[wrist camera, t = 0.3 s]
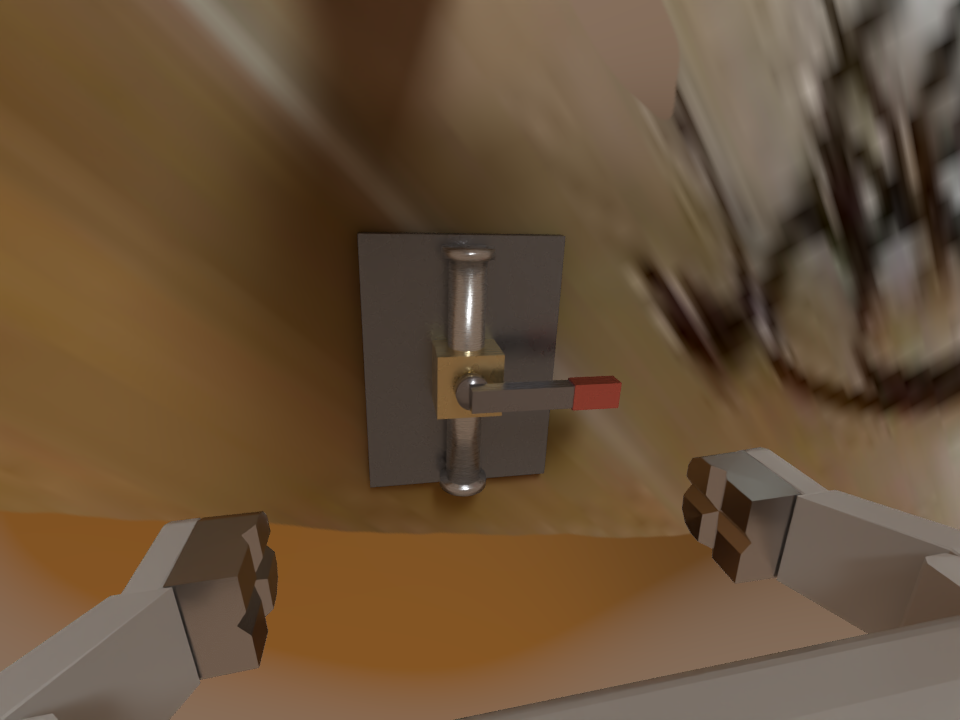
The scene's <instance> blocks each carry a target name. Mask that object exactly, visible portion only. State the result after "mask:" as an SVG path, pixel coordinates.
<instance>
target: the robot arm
mask: <svg viewBox="0 0 960 720" xmlns="http://www.w3.org/2000/svg"><path fill="white" fill-rule="evenodd" d="M687 477H688V479H689V480H690V482H691V484H692V485H691V486H690V487H689V489H688V490H687V491H686V492H685V494H684V496H683V505H682V511H683V515H684V520H685V523H686V525H687V527H688V529H689V531H690V533H691V534H692V535H693V536H694V537H695V539H696V540H697V541H698V542H700V543H702V544H704V545H706V546H708V547H710V548H712V558H713V559H714V560H715V562H716V563H717V564H718V565H719V566H720V567H721V568H722V570H723V571H724V572H725V573H726V574H727V575H728V576H729V577H730V579H731V580H732V581H733V582H734V583H742V582H749V581H755V580H763V579H770V578H777V580H778V581H779V582H781V583H783V584H785V585H786V586H788V587H790V588H791V589H793V590H795V591H796V592H798V593H800V594H801V595H803V596H805V597H807V598H808V599H810V600H812V601H813V602H815V603H817V604H819V605H820V606H822V607H824V608H825V609H827V610H829V611H830V612H832V613H834V614H835V615H837V616H839V617H841V618H842V619H844V620H846V621H848V622H849V623H851V624H852V625H854V626H856V627H858V628H859V629H861V630H863V631H864V632H866V633H868V634H865V635H861V636H856V637H851V638H846V639H842V640H837V641H832V642H827V643H823V644H818V645H812V646H808V647H803V648H798V649H793V650H788V651H783V652H778V653H774V654H769V655H764V656H759V657H754V658H750V659H744V660H740V661H735V662H730V663H725V664H721V665H715V666H711V667H706V668H701V669H696V670H691V671H686V672H682V673H677V674H672V675H667V676H662V677H657V678H652V679H648V680H643V681H639V682H633V683H628V684H624V685H619V686H614V687H609V688H604V689H600V690H595V691H590V692H585V693H580V694H575V695H571V696H566V697H561V698H556V699H551V700H547V701H542V702H537V703H533V704H527V705H523V706H518V707H513V708H508V709H503V710H498V711H494V712H489V713H484V714H480V715H474V716H470V717H465V718H460V719H455V720H960V530H958V529H955V528H952V527H949V526H946V525H943V524H940V523H937V522H934V521H931V520H927V519H924V518H921V517H918V516H915V515H912V514H909V513H906V512H903V511H899V510H896V509H893V508H890V507H887V506H884V505H881V504H878V503H875V502H871V501H868V500H865V499H862V498H859V497H856V496H853V495H850V494H847V493H844V492H840V491H837V490H832V491H828V490H827V489H825V488H824V487H822V486H821V485H819V484H818V483H817V482H815V481H814V480H812V479H811V478H809V477H808V476H806V475H805V474H804V473H802V472H801V471H799V470H798V469H796V468H795V467H793V466H792V465H791V464H789V463H788V462H786V461H785V460H783V459H782V458H780V457H779V456H778V455H776V454H775V453H773V452H772V451H770V450H769V449H765V448H761V447H759V448H753V449H747V450H741V451H737V452H731V453H724V454H717V455H710V456H703V457H695V458H692V460H691V461H690V463H689V465H688V470H687ZM269 535H270V527H269V523H268V518H267V515H266V514H265V513H264V512H263V511H261V512H251V513H242V514H232V515H223V516H213V517H204V518H202V519H201V518H195V519H187V520H179V521H171V522H169V523H167V524H165V525H164V526H163V528H162V529H161V531H160V532H159V534H158V535H157V537H156V539H155V540H154V542H153V544H152V545H151V547H150V548H149V550H148V552H147V553H146V555H145V556H144V558H143V560H142V561H141V563H140V565H139V566H138V568H137V569H136V571H135V573H134V574H133V576H132V577H131V579H130V581H129V582H128V584H127V586H126V587H125V589H124V590H123V592H122V594H121V595H114V596H110V597H108V598H107V599H105V600H104V601H102V602H101V603H99V604H98V605H97V606H95V607H94V608H92V609H91V610H89V611H88V612H87V613H85V614H84V615H82V616H81V617H79V618H78V619H76V620H75V621H74V622H72V623H71V624H69V625H68V626H66V627H65V628H63V629H62V630H61V631H59V632H58V633H56V634H55V635H53V636H52V637H50V638H49V639H48V640H46V641H45V642H43V643H42V644H40V645H39V646H37V647H36V648H35V649H33V650H32V651H30V652H29V653H27V654H26V655H25V656H23V657H22V658H20V659H19V660H17V661H16V662H14V663H13V664H12V665H10V666H9V667H7V668H6V669H4V670H3V671H1V672H0V720H170V719H171V717H172V716H173V715H174V714H175V713H176V711H177V710H178V709H179V708H180V707H181V705H182V704H183V703H184V702H185V701H186V700H187V698H188V697H189V696H190V695H191V694H192V692H193V691H194V690H195V689H196V688H197V687H198V685H199V684H200V680H201V679H206V678H212V677H216V676H221V675H226V674H231V673H236V672H240V671H246V670H250V669H255V668H259V666H260V662H261V658H262V654H263V650H264V646H265V641H266V638H267V633H268V629H267V624H266V619H265V617H266V616H267V615H268V614H269V613H270V612H271V611H272V610H273V608H274V604H275V600H276V595H277V582H278V574H277V562H276V557H275V552H274V551H273V550H272V549H270V548H269V547H268V546H267V542H268V538H269Z"/></svg>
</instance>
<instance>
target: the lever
mask: <svg viewBox="0 0 960 720" xmlns="http://www.w3.org/2000/svg"><path fill="white" fill-rule="evenodd" d="M621 384H622V383H621V382H620V381H619V380H617V379H616V378H615V377H614V376H597V377H575V378H568V380H555V381H533V382H511V383H489V384H488V382H487V381H486V379H485V378H484V377H483V376H482V375H480V374H478V373H467V374H465V375H463V376H461V377H460V378H459V379H458V380H457V382H456V384H455V387H454V393H455V396H456V399H457V402H458V403H459V405H460V406H461V407H462V408H464V409H466V410H470V411H471V413H472V414H479V413H497V412H514V411H532V410H550V409H568V408H571V409H572V410H588V409H606V408H618V405H619V398H620V391H621Z"/></svg>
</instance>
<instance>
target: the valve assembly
mask: <svg viewBox="0 0 960 720" xmlns="http://www.w3.org/2000/svg"><path fill="white" fill-rule="evenodd" d="M564 246H565V236H563V235H543V234H468V233H393V232H358V254H359V273H360V293H361V313H362V332H363V352H364V372H365V391H366V411H367V430H368V450H369V470H370V487H381V486H393V485H406V484H418V483H430V482H440V486H441V488H442V489H443V490H444V491H445V492H447V493H449V494H451V495H455V496H471V495H475V494H477V493H479V492H481V491H482V490H483V489H484V488H485V485H486V478H491V477H504V476H516V475H528V474H540V473H544V467H545V456H546V445H547V434H548V423H549V412H550V410H532V411H514V412H497V413H479V414H472V413H471V411H470V410H466V409H464V408H462V407H461V406H460V405H459V403H458V402H457V399H456V396H455V393H454V387H455V384H456V382H457V380H458V379H459V378H460V377H461V376H463V375H465V374H467V373H478V374H480V375H482V376H483V377H484V378H485V379H486V381H487V382H488V384H489V383H511V382H533V381H552V379H553V368H554V357H555V346H556V335H557V323H558V312H559V301H560V290H561V279H562V268H563V257H564Z"/></svg>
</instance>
